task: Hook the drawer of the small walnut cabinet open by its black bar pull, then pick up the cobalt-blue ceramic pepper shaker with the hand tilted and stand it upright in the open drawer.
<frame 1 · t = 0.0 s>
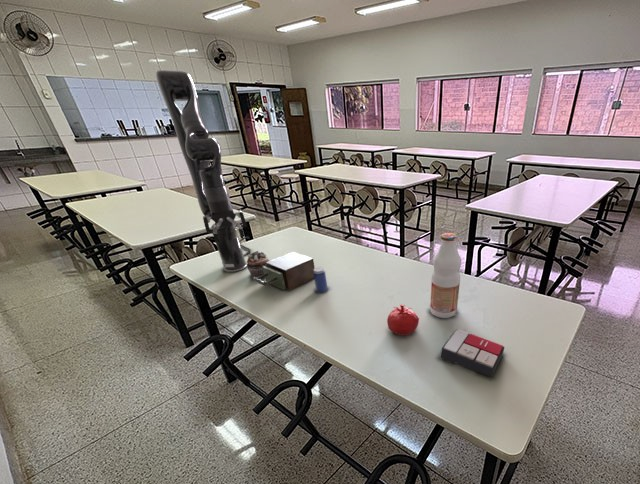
hand: (230, 240, 126), 17 cm above the table, tool pointing down, fingers open, 8 cm apart
cupcake: (261, 275, 138), on the table
fruit juice: (443, 311, 112), on the table
pepper shaker: (322, 289, 126), on the table
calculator: (471, 357, 92), on the table
drawer: (279, 275, 127), point 4 cm above the table, slide at 1.0 cm
cabinet: (293, 279, 134), on the table
pomegranate: (403, 330, 103), on the table
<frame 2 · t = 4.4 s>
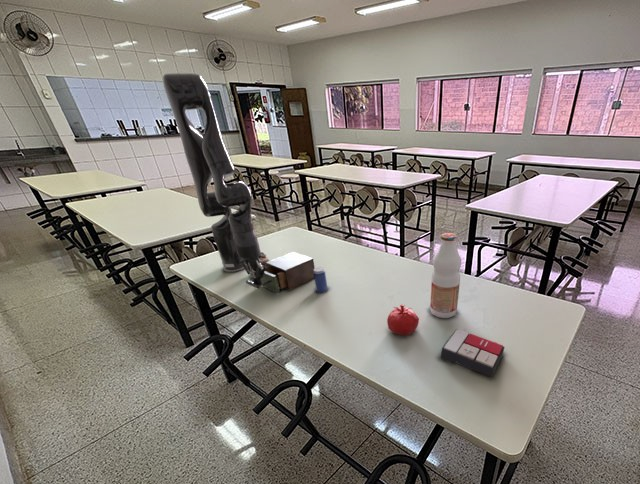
hand: (258, 285, 121), 4 cm above the table, tool pointing down, fingers closed
drawer: (273, 277, 126), point 4 cm above the table, slide at 3.8 cm, touching gripper
everything else where it was.
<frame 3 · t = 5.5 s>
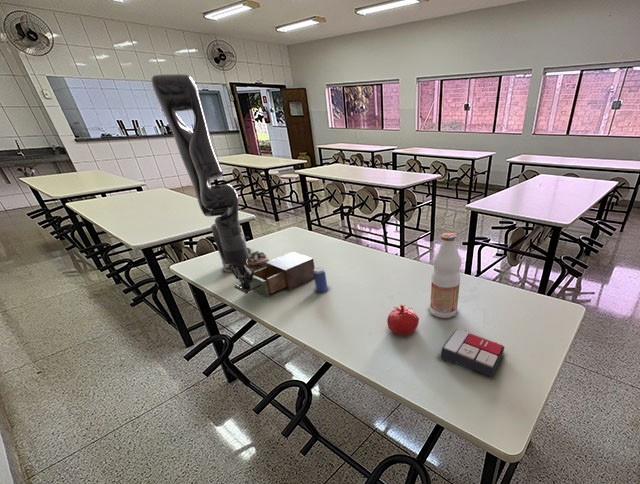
hand: (247, 290, 118), 4 cm above the table, tool pointing down, fingers closed
drawer: (263, 282, 122), point 4 cm above the table, slide at 8.4 cm, touching gripper
everything else where it was.
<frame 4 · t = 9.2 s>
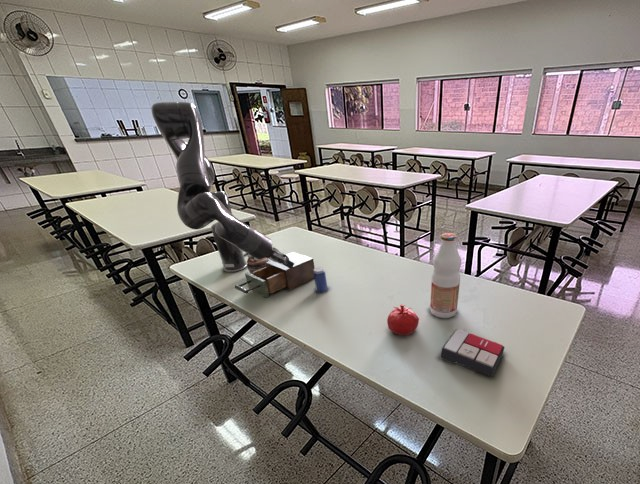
hand: (291, 265, 111), 15 cm above the table, tool tilted 45°, fingers closed
drawer: (263, 282, 122), point 4 cm above the table, slide at 8.5 cm
everything else where it was.
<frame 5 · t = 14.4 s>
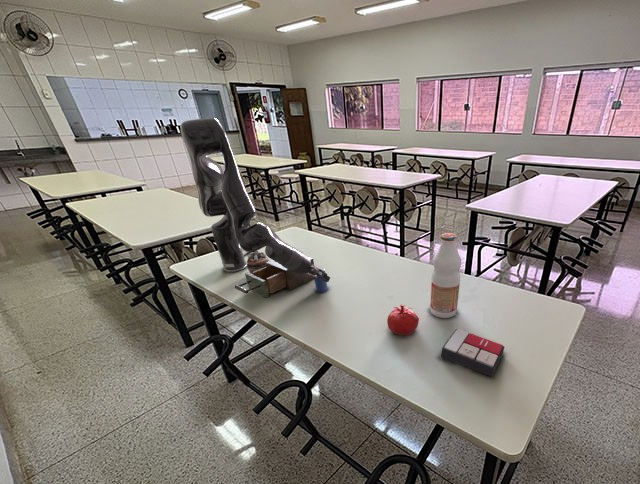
hand: (324, 277, 125), 4 cm above the table, tool tilted 45°, fingers closed on pepper shaker, 4 cm apart
pepper shaker: (321, 289, 126), on the table, touching gripper
everything else where it was.
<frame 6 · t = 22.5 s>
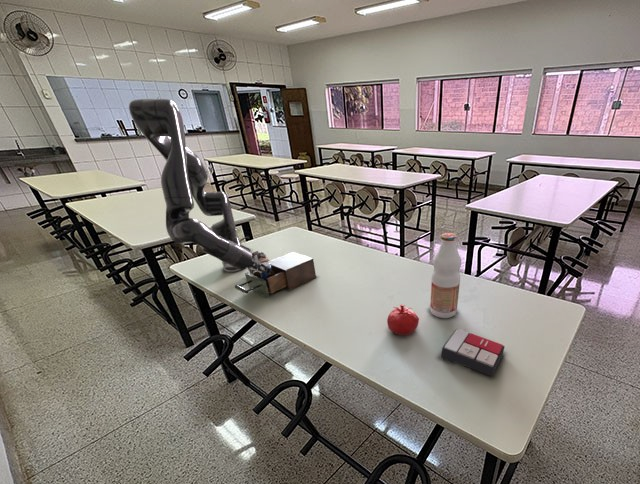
hand: (271, 273, 124), 7 cm above the table, tool tilted 45°, fingers closed on pepper shaker, 4 cm apart
pepper shaker: (269, 285, 125), point 2 cm above the table, touching gripper
everything else where it was.
when the fingers open (7 cm above the table, at t = 24.3 s): pepper shaker stays where it is, resting on drawer.
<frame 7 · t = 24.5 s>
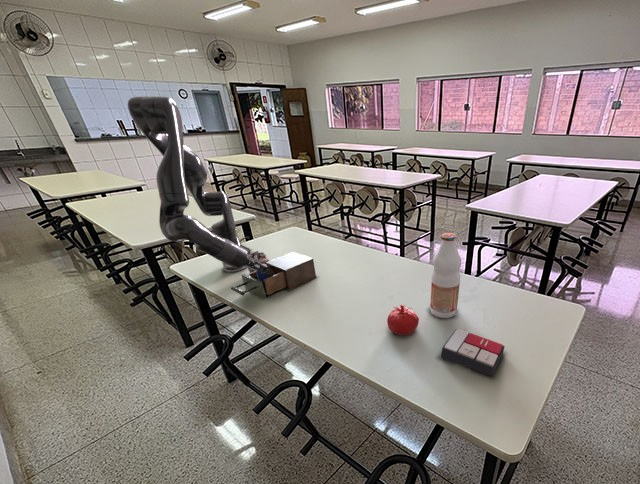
hand: (266, 271, 122), 8 cm above the table, tool tilted 45°, fingers open, 6 cm apart
pepper shaker: (266, 286, 124), point 2 cm above the table, touching drawer
drawer: (259, 283, 121), point 4 cm above the table, slide at 9.8 cm, touching pepper shaker
everything else where it was.
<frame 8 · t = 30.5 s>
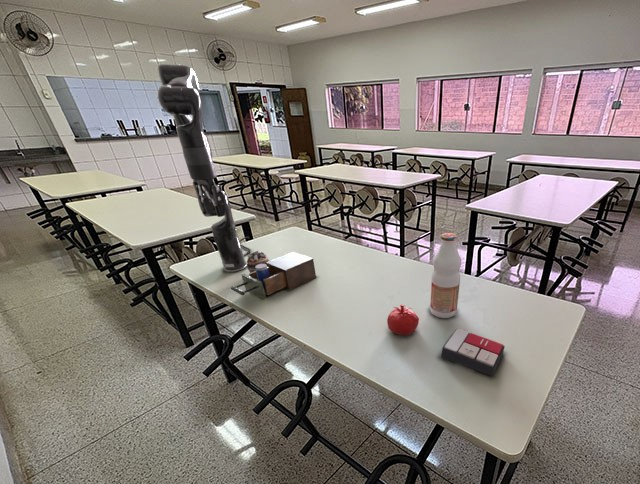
hand: (215, 214, 109), 31 cm above the table, tool pointing down, fingers open, 6 cm apart
nothing on the table moved.
at the end: drawer slide at 9.8 cm; pepper shaker inside the target area in the drawer (1.4 cm from its centre), point 2.1 cm above the cabinet's base; pepper shaker tilted 0° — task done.
